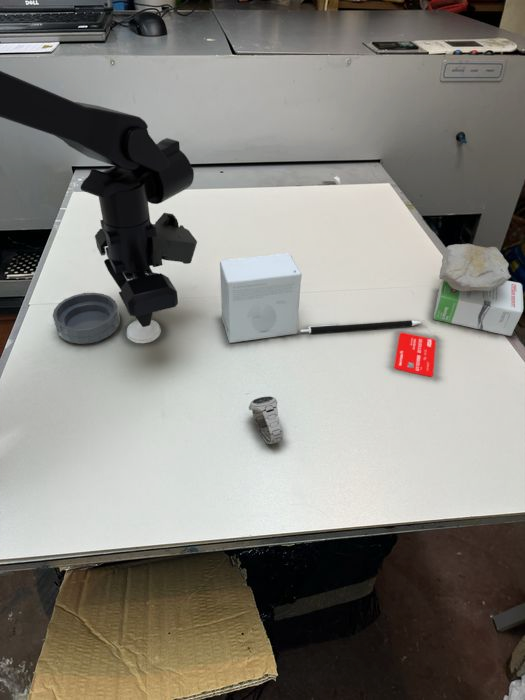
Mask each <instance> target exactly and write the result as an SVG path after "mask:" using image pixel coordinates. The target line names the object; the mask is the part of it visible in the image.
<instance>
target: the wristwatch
mask: <svg viewBox="0 0 525 700" xmlns="http://www.w3.org/2000/svg"><path fill="white" fill-rule="evenodd" d="M248 410H249V411H251V412H252V418H253V420H254V424H255V425H256V427H257V430H258V433H259V435H260V437H261V438H262V439H263V441H264V442H265V444H266V445H272V444H277V443H279V442H281V441H282V440H283V438H284V433H283V429H282V425H281V421H280V418H279V412H278V401H277V398H276V397H274V396H270V395H269V396H260V397H257V398H255V399H252V401H250V403H249V405H248Z"/></svg>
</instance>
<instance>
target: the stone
mask: <svg viewBox="0 0 525 700" xmlns="http://www.w3.org/2000/svg"><path fill="white" fill-rule="evenodd" d="M509 266H510V263H509V262H508V261H507V259H505V257H504V255H503V254H502V252H501V251H500V250H499V249H498V247H496V246H490V247H484V246H481V245H475V244H472V243H462V244H459V243H458V244H457V243H455V244H450V245H448V246H446V247H445V249H444V250H443V255H442V260H441V267H440V270H439V280H441V281H442V280H446V281H447V282H448V284H449V285H450V286H451V287H452V288H453V289H455V290H459V291H474V290H477V291H479V290H481V291H490V290H491V289H493V288H496V287H499V286H502V285H503V284H504V283H505V282H506V281H509V279H511V278H512V275H511V274H510V272H509V269H508V268H509Z"/></svg>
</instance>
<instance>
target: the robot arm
mask: <svg viewBox="0 0 525 700" xmlns="http://www.w3.org/2000/svg"><path fill="white" fill-rule="evenodd" d="M0 118H1V119H5V120H7V121H10V122H12V123H16V124H19V125H22V126H25V127H28V128H32V129H34V130H37V131H39V132H43V133H46V134H49V135H52V136H54V137H56V138H58V139H60V140H62V141H63V142H64V143H65V144H66V145H67V146H68V147H70V148H72V149H74V150H75V151H77V152H78V153H80V154H82V155H84V156H86V157H87V158H90V159H92V160H96V161H98V162H102V163H105V164H108V165H111V166H112V167H110V168H107V169H106V170H103V171H102V170H98V169H95V168H91V169H90V172H89V174H88V176H87V177H86V178H85V179H83V181H82V183H81V185H80V190H81V191H82V192H83V193H88V194H89V195H90V194H91V195H94V196H95V197H98V202H99V207H100V212H101V217H102V219H100V220H99V222H100V227H101V228H99V229H98V231H97V232H96V234H95V235H94V239H95V243H96V248H97V250H98V252H99V254H100V256H106V257H107V258H106V259H105V260H103V263H104V266H105V267H106V270H107V271H108V273H109V274H110V276H111V278H112V279H113V280H114V282H115V283H116V285H117V286H118V288H119V289H120V291H119V292H118V294H119V297H120V299H121V301H122V303H123V304H124V307H125V308H126V310H127V312H128V315H129V316H131V317H134V318H135V319H136V320H138V322H139V323H140V324H141V325H142V327H146V326H149V325H150V323H151V320H153V314H154V313H156V312H161V311H165V310H169V309H172V308H176V307H177V306H178V304H179V299H178V291H177V289H176V287H175V286H174V284H173V282H172V280H171V279H170V278H169V277H168V276H166V275H165V274H163V273H162V272H160V273H158V272H153V270H152V268H151V266H152V267H153V268H156V267H161V266H163V260H164V261H169V262H170V261H171V262H177V263H179V262H180V263H182V264H184V265H190V264H191V263H192V261H193V258H194V254H195V250H196V248H197V244H198V240H197V239H196V238H195V236H194V235H193V234H192V233H191V232H190V230H189V229H187V228H185V227H184V226H183V225H182V224H180V225H179V221H178V219H177V217H176V216H175V215H174V213H170V212H169V213H168V212H163V213H162V214H161V216H159V218H158V219H157V220H156V221H155V223H152V222H151V216H150V207H149V203H150V204H152V205H159V204H162V203H163V202H165V201H167V200H169V199H171V198H172V197H175V196H176V195H178V194H180V193H182V192H183V191H185V190H187V189H189V188H190V187H191V186H192V184H193V182H194V179H195V178H194V177H195V173H194V168H193V167H192V164H191V161H190V160H189V158H188V157H187V155H186V154H185V153H184V152H183V151H182V150H181V147H180V141H178V140H176V139H172V138H168V137H166V138H164V139H162V140H160V141H159V142H157V143H156V142H155V141H154V139H153V138H152V137H151V135H150V134H149V131H148V128H149V125H148V124H147V122H146V121H145V120H144V119H143V118H141V117H140V116H137V115H133V114H130V113H127V112H124V111H119V110H114V109H113V108H108V107H104V106H100V105H96V104H91V103H86V102H85V103H83V102H79V101H73V100H71V99H68V98H66V97H64V96H61V95H59V94H57V93H53V92H51V91H49V90H47V89H45V88H42V87H40V86H38V85H35V84H32V83H30V82H27V81H26V80H23V79H21V78H18V77H16V76H13V75H11V74H9V73H7V72H4V71H1V70H0ZM134 277H135V278H134Z"/></svg>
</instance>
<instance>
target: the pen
mask: <svg viewBox="0 0 525 700" xmlns="http://www.w3.org/2000/svg"><path fill="white" fill-rule="evenodd" d="M422 322H423V321H422ZM422 322H421V321H418V320H398V321H384V322H370V323H355V324H353V323H352V324H341V325H340V324H327V325H312V326H311V325H310V326H308V327H307V329H300V330H299V332H300V333H308V334H320V333H333V332H334V333H335V332H347V331H349V332H350V331H363V330H377V329H391V328H403V327H413V326H418V325H420V324H422Z"/></svg>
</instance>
